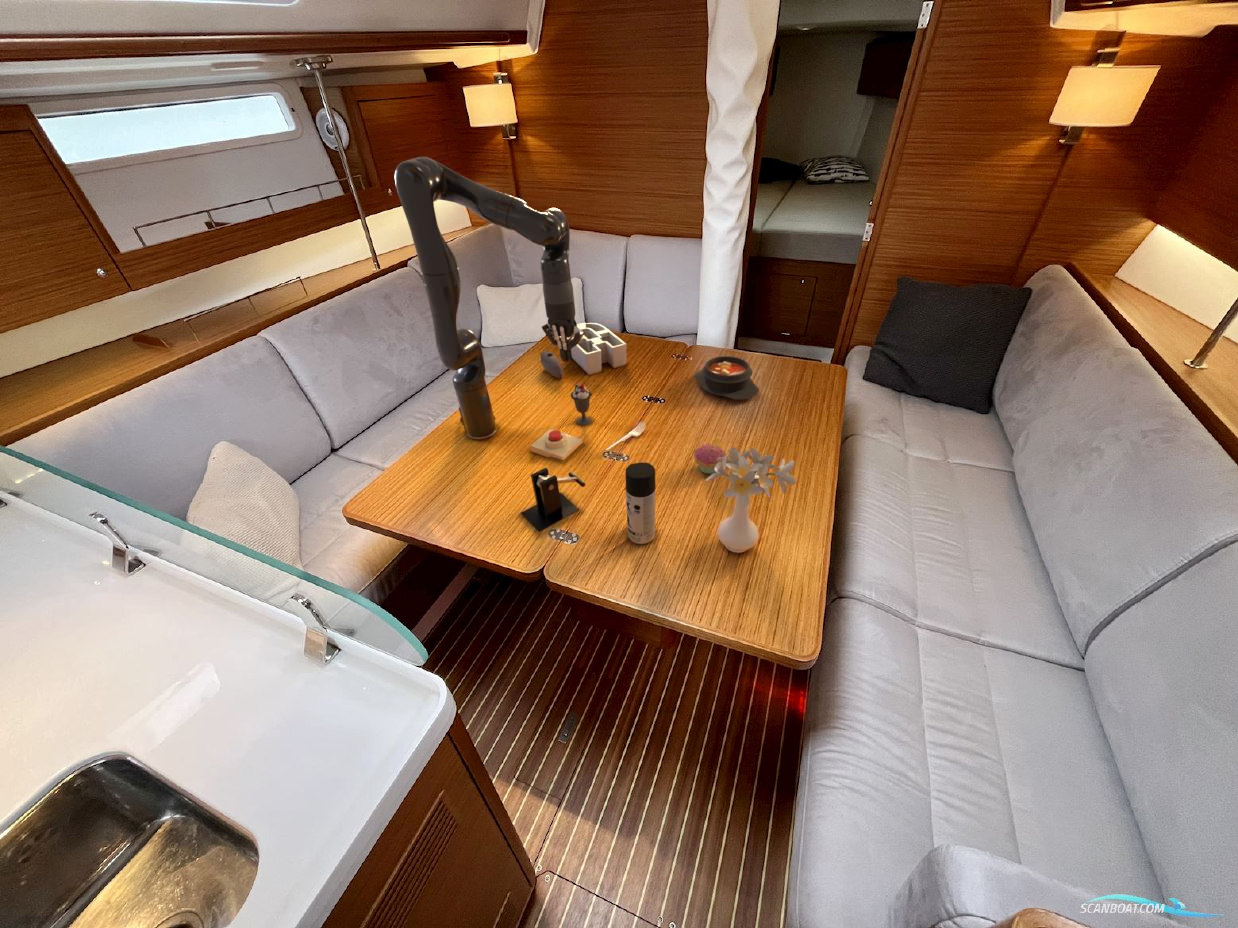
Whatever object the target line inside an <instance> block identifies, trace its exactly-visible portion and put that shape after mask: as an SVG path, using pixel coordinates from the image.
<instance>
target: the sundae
mask: <svg viewBox="0 0 1238 928" xmlns="http://www.w3.org/2000/svg"><path fill="white" fill-rule="evenodd" d="M585 384H586V383H585V381H583V383H582V384H581V385H579V384H575V385H574V391H572V392H571V393H570V398H571V399H572V400H573V402H574V405H575V409H576V411H577V412H578V413H580V414H581V417H579V418H578V419H577V420H576V424H577V425H579V426H581V427H582V426H583V427H585V426H588V425H590V424H591V423H592V421H593V420H592V418H590V417H588V416H586V413H587V412H588V411H589V409H590V402H591V401H590V400H591V397H592V396H593V392H592V391H590V390H588V389H587V387H586V386H585Z"/></svg>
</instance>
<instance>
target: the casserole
mask: <svg viewBox="0 0 1238 928" xmlns="http://www.w3.org/2000/svg"><path fill="white" fill-rule="evenodd" d="M750 365H751V364H749V362H748V361H746V360H745V359H743V358H741V357H738V356H737V357H736V356H729V355H727V356H726V355H722V356H715V357H712V358H711V359H708V360H707V361H706V363H705V364H704V366H703V367H702V369H700V370H698V371H697V372H696V373H695V374H694V378H695V380H697V382H698V384H699V387H700V388H701V389H702V390H703V391H705V392H707V393H708V394H712V395H714V396H715V395H716V396H721V397H725V398H728V399H731V400H733V401H738V400H739V401H740V400H741V401H742V400H747V399H751V398H753V397H754V396H756V395H757V394H759V392H760V388H759V387H758V386H757V385H756V384H755V382H754V381H753V380H752V378H751V377H752V376H753V370H752V368H751V366H750Z"/></svg>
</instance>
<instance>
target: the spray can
mask: <svg viewBox="0 0 1238 928" xmlns="http://www.w3.org/2000/svg"><path fill="white" fill-rule="evenodd" d="M656 485H657V483H656V468H655V467H654V465H652V464H651V463H648V462H646V461H645V462H634V463H630V464H629V465H627V467H626V468H625V497H626V499H625V500H626V501H625V503H626V524H627V526H626V527H627V536H628V539H629V540H630V541H631V542H632V543H634V544H636V545H646V544H649V543H650V542H651V541H653V540H654V539H655V536H656V489H657V487H656Z"/></svg>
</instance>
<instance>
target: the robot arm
mask: <svg viewBox="0 0 1238 928" xmlns="http://www.w3.org/2000/svg"><path fill="white" fill-rule="evenodd" d="M394 184H395V185H394V186H395V188H396V192H397V195H398V198H399V201H400V204H401V207H402V209H403V212H404V215H405V218H406V222H407V224H408V227H409V230H410V233H411V237H412V241H413V245H414V249H415V253H416V255H417V260H418V265H419V269H420V274H421V277H422V283H423V285H424V288H425V289H424V290H425V292H426V295H427V301H428V305H429V309H430V313H431V318H432V324H433V332H434V338H435V339H434V340H435V345H436V351H437V354H438V357H439V359H440V361H441V362H442V364H443V365H444V366H445V368H447V369H449V370H451V371H455V372H454V374H453V377H452V385H453V388H454V391H455V394H456V397H457V401H458V405H459V406H458V412H459V415H460V417H459V422H460V423H461V426H463V428H464V432H465V434H466V435H467V437H468V438H470V439H471V440H477V441H479V440H485V439H488V438H491V437H493V436H494V435H495V434H496V433H497V431H498V427H497V424H496V423H497V422H496V416H495V415H494V410H493V407H492V402H491V398H490V394H489V389H488V387H487V382H486V372H487V371H486V370H487V369H486V365H485V359H484V353H483V348H482V345H481V342H480V340H479V338H478V336H477V335H476V334H475V333H474V332H473V331H472V330H471V329H470V330H469V329H467V328H460V329H458V326H457V324H458V323H457V318H458V311H459V306H460V302H461V297H462V288H463V287H462V279H461V275H460V270H459V265H458V261H457V258H456V256H455V254H454V252H453V250H452V249H451V246H449V244H448V243H447V241H446V240H445V238H444V236H443V235H442V233H441V231H440V228H439V224H438V220H437V215H436V210H435V202H437V201H439V200H440V201H446V202H450V203H455V204H458V205H461V206H463V207H465V208H467V209H469V210H470V211H471V212H473V213H474V214H476V215H477V216H478V217H480V218H481V219H483V220H484V221H486V222H488V223H491V224H492V225H495V226H498V227H500V228H503V229H506V230H509V231H512V232H515V233H516V234H518V235H519V236H521V237H523V238H524V239H526V240H527V241H530V242H531V243H533V244H535V245H537V246H541V247H542V248H543V249H542V250H543V252H542V255H541V258H540V271H541V273H540V274H541V278H542V279H541V280H542V295H543V301H544V308H545V316H546V317H547V322H546V323H545V324H544V325H542V326H541V329H542V331H543V332H544V334H545V335H546V336H547V338H548V339H549V341H550V342H551V344H552V345H553V346H557V348H558V349H559V356H560V359H561V361H562V362H565V363H568V362H570V361H571V360H572V359H573V358H572V354H571V349H572V348H573V347H574V346H576V345H577V344H578V343H579V341H580V340H581V338H582V337H583V335H584V334H585V332H584V330H580V329H579V328H578V327H577V324H578V322H577V321H576V319H575V318H576V305H575V294H574V293H575V292H574V287H573V283H572V277H571V275H572V274H571V268H570V267H571V266H570V260H569V257H570V242H571V241H570V239H571V237H570V235H571V233H570V224H569V220H568V218H567V216H566V214H565V213H564V212H563V211H562V210H560V209H558V208H556V207H551V208H548V209H546V210H544V211H542V212H540V211H537V210H536V209H535V210H534V209H533V208H531V207H530V206H529V205H528V203H527V202H526V201H524V200H523V199H521V198H518V197H515V196H512V195H510V194H507V193H505V192H501V191H499V190H496V189H493V188H491V187H488V186H486V185H483V184H480V183H478V182H476V181H474V180H472V179H470V178H468V177H465V176H463V175H462V174H460V173H458V172H456V171H454V170H453V169H451V168H449V167H447V166H445V165H444V164H442V163H440V162H438V161H436V160H434V159H432V158H431V157H427V156H418V157H417V156H416V157H414V158H410V159H408V160H404V161H401V162H400V163H399V164H397V166H396V168H395V171H394ZM573 332H574V335H572V334H573ZM573 336H574V338H573ZM572 338H573V339H572Z"/></svg>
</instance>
